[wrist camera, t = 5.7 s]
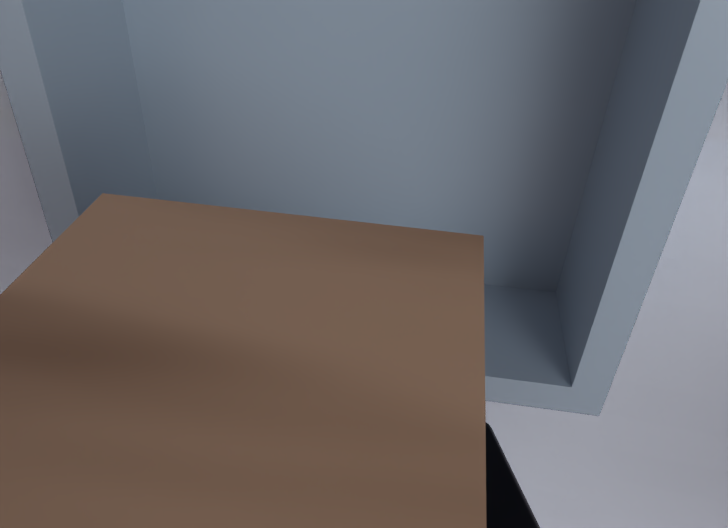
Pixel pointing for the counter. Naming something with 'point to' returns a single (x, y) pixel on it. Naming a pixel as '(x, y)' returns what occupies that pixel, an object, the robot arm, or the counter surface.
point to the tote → (399, 138)
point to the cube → (243, 373)
